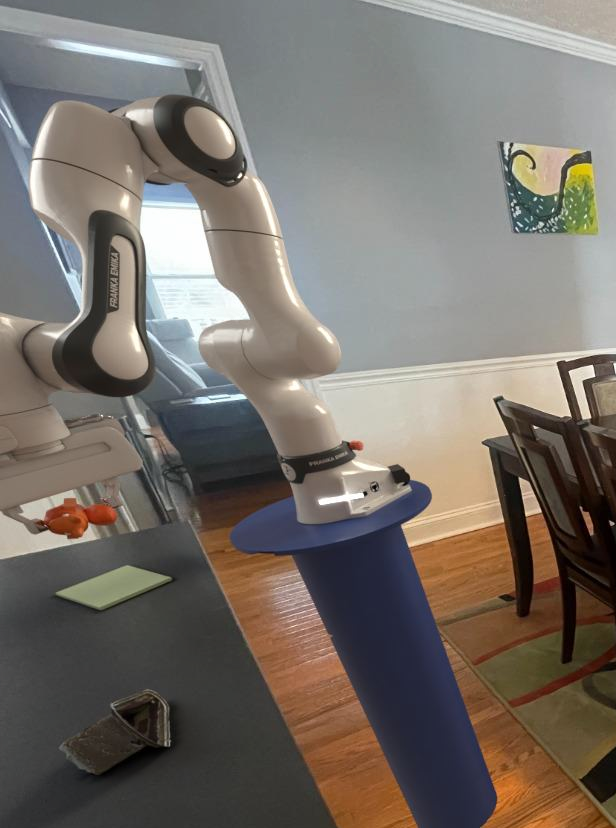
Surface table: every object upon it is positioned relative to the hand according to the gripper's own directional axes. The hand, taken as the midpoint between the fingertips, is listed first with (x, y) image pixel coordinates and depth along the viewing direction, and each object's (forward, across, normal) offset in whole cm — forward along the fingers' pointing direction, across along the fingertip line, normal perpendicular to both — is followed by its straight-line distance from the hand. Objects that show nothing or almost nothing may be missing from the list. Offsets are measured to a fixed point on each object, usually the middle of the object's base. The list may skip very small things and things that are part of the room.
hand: (78, 519), depth 90 cm
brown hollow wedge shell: (+16, +18, +37) cm, 44 cm away
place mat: (+16, -2, -11) cm, 19 cm away
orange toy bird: (+2, 0, 0) cm, 2 cm away
